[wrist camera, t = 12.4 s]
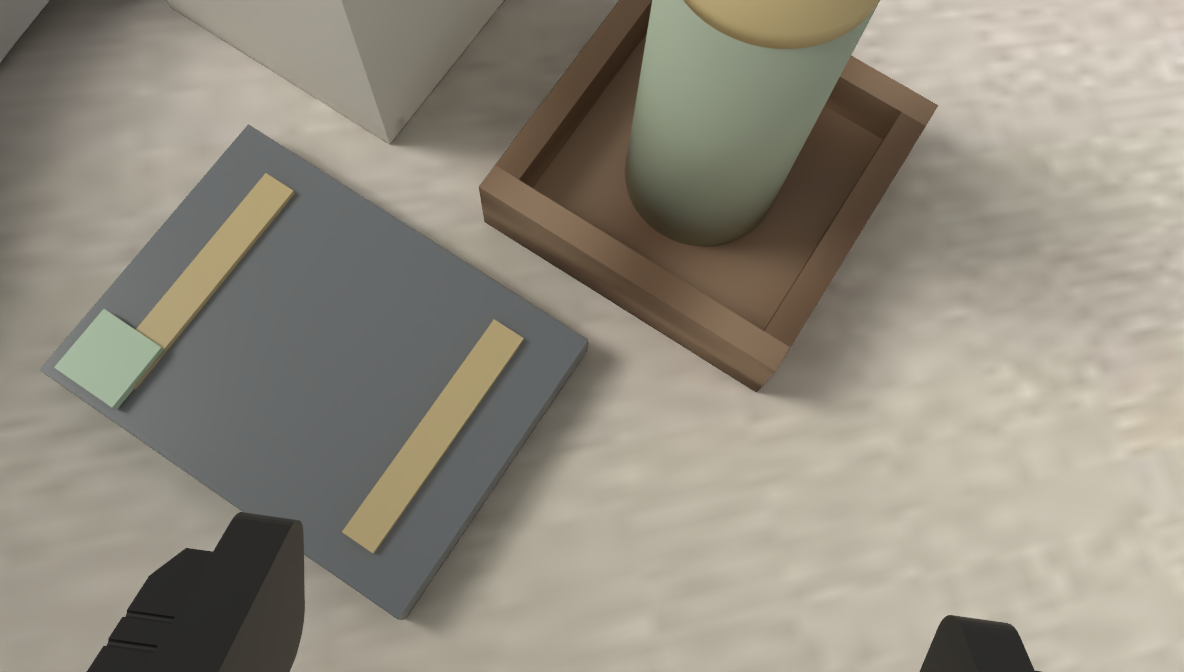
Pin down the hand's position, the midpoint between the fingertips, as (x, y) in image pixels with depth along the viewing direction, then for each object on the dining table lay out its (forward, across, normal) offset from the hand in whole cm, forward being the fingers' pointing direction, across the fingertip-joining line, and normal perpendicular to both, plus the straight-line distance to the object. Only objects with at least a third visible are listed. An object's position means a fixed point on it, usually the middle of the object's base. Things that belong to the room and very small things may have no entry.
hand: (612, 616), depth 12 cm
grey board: (+15, +8, +6) cm, 18 cm away
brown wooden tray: (+20, -2, +1) cm, 20 cm away
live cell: (+19, -2, +1) cm, 20 cm away
